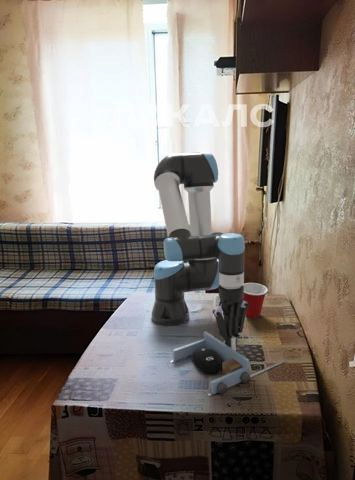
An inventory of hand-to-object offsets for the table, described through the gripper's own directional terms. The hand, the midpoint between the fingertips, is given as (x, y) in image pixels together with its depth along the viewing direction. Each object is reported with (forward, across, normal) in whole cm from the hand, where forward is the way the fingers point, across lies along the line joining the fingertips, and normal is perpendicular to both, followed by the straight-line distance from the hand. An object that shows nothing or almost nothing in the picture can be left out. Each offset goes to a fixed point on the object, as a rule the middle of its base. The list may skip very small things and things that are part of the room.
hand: (231, 354), depth 117 cm
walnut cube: (+2, -5, -6) cm, 9 cm away
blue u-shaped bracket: (+2, -8, 0) cm, 8 cm away
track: (+2, -2, 0) cm, 3 cm away
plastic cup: (+2, +28, +20) cm, 35 cm away
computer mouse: (+2, -8, +2) cm, 8 cm away
